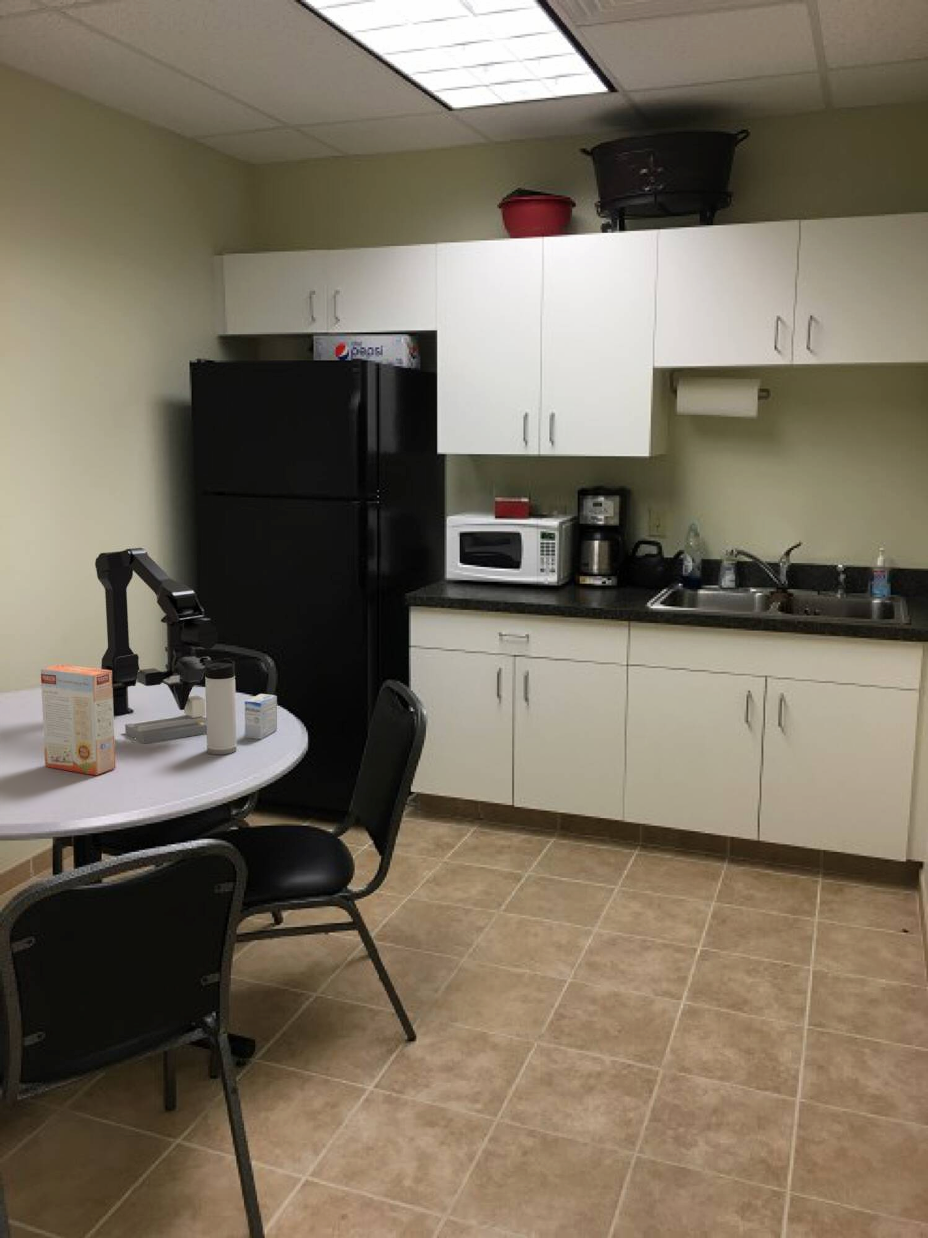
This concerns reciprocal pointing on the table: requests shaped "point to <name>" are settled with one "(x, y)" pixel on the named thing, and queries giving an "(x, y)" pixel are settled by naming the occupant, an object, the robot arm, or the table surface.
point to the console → (166, 728)
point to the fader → (195, 707)
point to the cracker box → (78, 718)
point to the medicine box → (260, 716)
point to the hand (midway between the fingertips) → (181, 709)
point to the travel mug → (220, 706)
